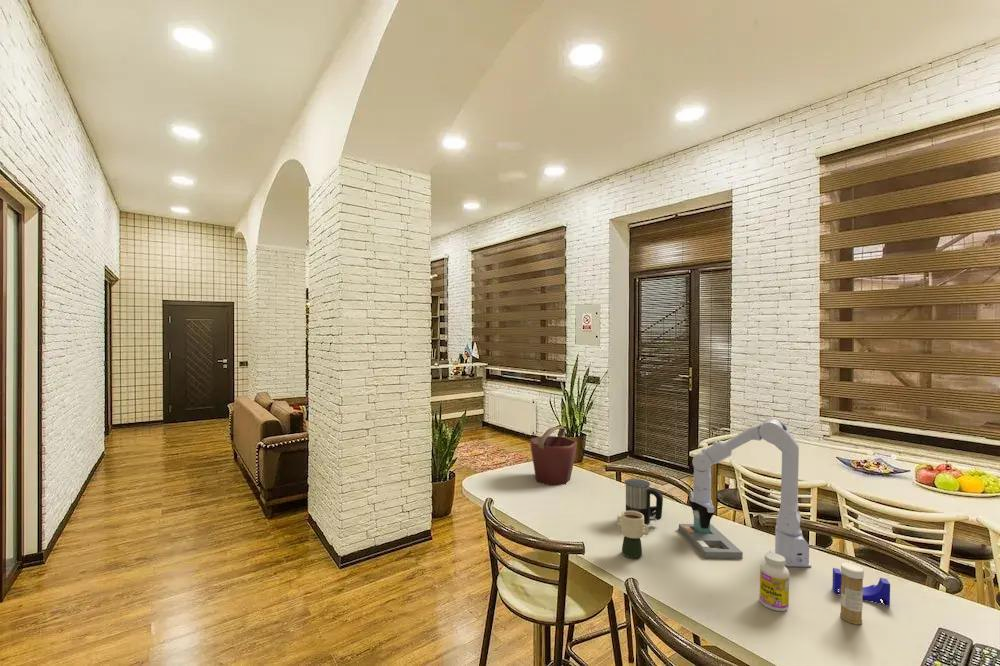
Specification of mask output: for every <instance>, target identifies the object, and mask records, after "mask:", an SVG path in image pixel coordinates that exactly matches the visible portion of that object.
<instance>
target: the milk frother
mask: <svg viewBox="0 0 1000 666" xmlns="http://www.w3.org/2000/svg"><path fill="white" fill-rule="evenodd" d="M624 483H625V511H636V512H639V513H642V514H643V515H644V524H646V525H648V526H649V524H651V520H650V519H651V518H652V517H654V516H655V520H657V521H659V520H661V519H662V515H663V504H664V498H663V494H662V492H661V491H660V490H658V488H654V487H650V485H651V483H650V482H649V481H647V480H646V479H641V478H629V479H626V480H624ZM651 495H652V496H654V497H655V499H656V502H655V506H654V505H652V506H651Z"/></svg>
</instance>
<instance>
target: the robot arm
mask: <svg viewBox="0 0 1000 666" xmlns="http://www.w3.org/2000/svg"><path fill="white" fill-rule="evenodd" d="M753 440H754V441H762V440H764V441H766V442H767V443H770V444H772V445H774V446H775V447H776V448H777V449H778V451H779V450H780V452H781V475H780V476H781V482H780V483H781V484H780V486H781V487H780V504H779V505H780V506H779V510H778V515H777V517H776V521H775V523H776V525H775V531H774V532H775V533H774V536H775V538H774V540H775V541H774V544H775V545H774V547H775V548H774V550H771V549H770V550H768V553H776V554H779V555H781V556H783V557H784V558H785V565H784V566H785V567H798V568H799V567H803V568H804V567H805V568H807V567H808V568H809V567H810V568H811V567H812V564H811V563H810V545H809V543H808V541H806V539H805V538H804V535H803V531H802V529H801V525H800V524H801V521H802V515H801V514H802V513H800V511H799V510H800V509H799V502H798V499H799V496H798V495H799V460H800V459H799V457H800V447H799V444H798V442H797V441H796V439H795V438H794V436H793V434H791V432H790V431H789V428H788V426H787V425H786V424H784V423H783V422H782V421H781V420H778V419H777V418H768V419H765V420H764V421H763V422H762V421H761V422H758V423H756V424H754V425H752V426H749V427H748V428H747V429H745V430H743V431H741V432H740V433H739V434H737V435H735V436H734V437H732V438H731V439H729V440H727V441H723V440H719V441H717V440H715V441H714V442H712V444H711V446H709V447H707V448H703V449H701V451H699V452H697V454H696V455H694V456H693V458H692V463H691V464H692V466H693V483H692V484H693V486H692V488H693V491H690V497H689V501H688V502H689V505H690V507H691V509H692V511H693V510H698V512H699V516H700V523H701V528H703V529H708V527H709V523H710V524H711V520H712V519H713V516H714V514H715V513H716V510H715V506H714V505H713V501H712V498H711V497H712V473H711V472H712V466H713V465H716V464H718V463H720V462H722V461H724V460H725V459H727V458H729V457H731V456H732V453H733V452H732V451H733V450H735V449H737V448H739V447H742V445H744V444H746V443H748V442H750V441H753Z"/></svg>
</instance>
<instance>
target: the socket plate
mask: <svg viewBox="0 0 1000 666" xmlns="http://www.w3.org/2000/svg"><path fill="white" fill-rule="evenodd" d="M678 530H679V532H680V533H681V534H682V535H683V534H684V535H685V536H684V535H683V536H684V537H685V538H686V539H687V541H689V542H690V544H692V546H693V547H694V548H695V549H696V550H697V551H698V552H699V553H700V555H702V557H704V559H738V558H742V559H743V557H744V556H743V551H742V550H740V548H738V546H737V545H735V544H734V542H732V541H731V540H729V538H727V536H725V535H724V534H723V533H722V532H721V531H720V530H718V528H716V527H715V526H714V525H713V524H712V523H710V534H697V533H696V532H695V531H694V523H678ZM718 546H721V548H711V547H718Z"/></svg>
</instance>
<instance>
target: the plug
mask: <svg viewBox="0 0 1000 666" xmlns="http://www.w3.org/2000/svg"><path fill="white" fill-rule="evenodd" d="M692 515H693V524H694V531H695V533H696V534H710V524H711V522H710V523H709V527H708V529H703V528H701V523H700V516H699V512H698V510H692Z"/></svg>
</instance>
